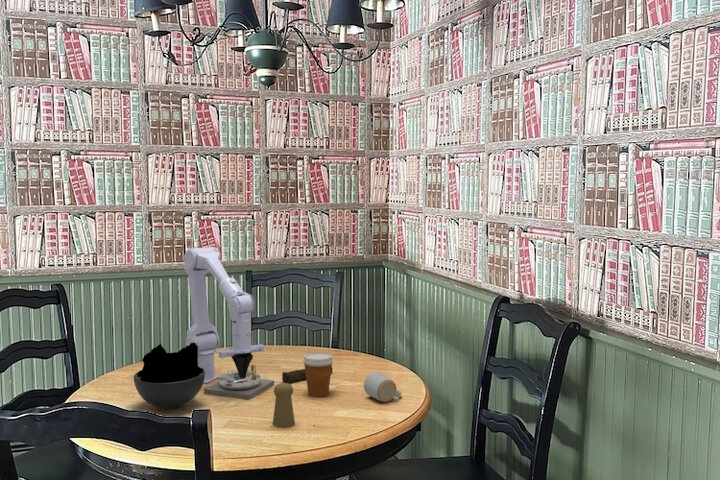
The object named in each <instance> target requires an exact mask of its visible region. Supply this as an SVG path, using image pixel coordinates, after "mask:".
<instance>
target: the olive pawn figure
mask: <svg viewBox="0 0 720 480" xmlns="http://www.w3.org/2000/svg"><path fill="white" fill-rule="evenodd" d="M273 387H274V388H273V393H274V396H275V402H274V410H273V419H272V426H273V427H276V428H279V429H281V428H284V429H286V428H290V427H292V426H295V424H296V422H295V421H296V420H295V413H294V407H293V401H292V400H293V399H292V395H293V394H294V387H293V386H292V383H284V382H282V383H277V384H275V385H274V386H273Z"/></svg>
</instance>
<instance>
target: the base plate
mask: <svg viewBox="0 0 720 480" xmlns="http://www.w3.org/2000/svg"><path fill="white" fill-rule="evenodd" d="M272 387H275V380H274V379H265V378H261V383H260V385H259V386H257V387H254V388H251V389H245V390H228V389H224V388H221V387H220V386H219V381H218V382H216V383H213V384H212V385H209V386H207V387H205V388H204V389H203V394H205V395H211V396H218V397H219V396H220V397H224V398H233V399H241V400H246V401H250V400H251V399H253V398H254V397H256V396H258V395H259V394H261V393H264V392H265V391H267V390H269V389H270V388H272Z"/></svg>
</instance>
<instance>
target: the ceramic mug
mask: <svg viewBox="0 0 720 480" xmlns="http://www.w3.org/2000/svg"><path fill="white" fill-rule="evenodd" d="M363 389H364V392H365V394H366V395H368V396H369V397H372V398H373V399H376V400H377V401H379V402H383V403H388V402H390V401H392V400H393V399H394V398H395V397H396V398H401V395H402V391H400V390H397V389H398V388H397V384H396V382H395V381H393V380H392V379H391V378H390V377H388V376H386V375H385V374H383V373H382V372H379V371H373V372H370V373H369V374H368V375H367V376H366V378H365V380H364V382H363Z"/></svg>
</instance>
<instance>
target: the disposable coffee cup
mask: <svg viewBox="0 0 720 480" xmlns="http://www.w3.org/2000/svg"><path fill="white" fill-rule="evenodd" d="M302 362H303V364H304V369H305V372H306V379H305V380H306V386H307V395H308V396H310V397H315V398H316V397H318V398H321V397H326V396H328V395H329V391H330V385H331V384H330V382H331V375H332V374H331V368H332V369H333V367H332V366H333V362H334V357H333V355H332V354H331V353H328V352H310V353H306V354H305V355H304V356H303V359H302Z"/></svg>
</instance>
